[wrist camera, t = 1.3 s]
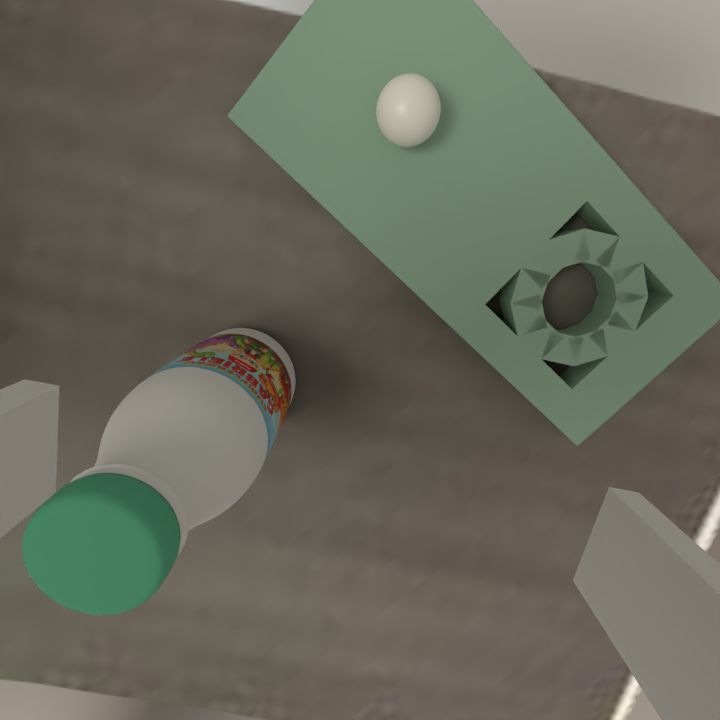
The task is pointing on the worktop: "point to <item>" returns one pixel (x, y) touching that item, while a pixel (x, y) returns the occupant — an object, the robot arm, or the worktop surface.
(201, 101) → the worktop surface
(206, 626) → the worktop surface
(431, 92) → the ball
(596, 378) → the plate
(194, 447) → the milk bottle
